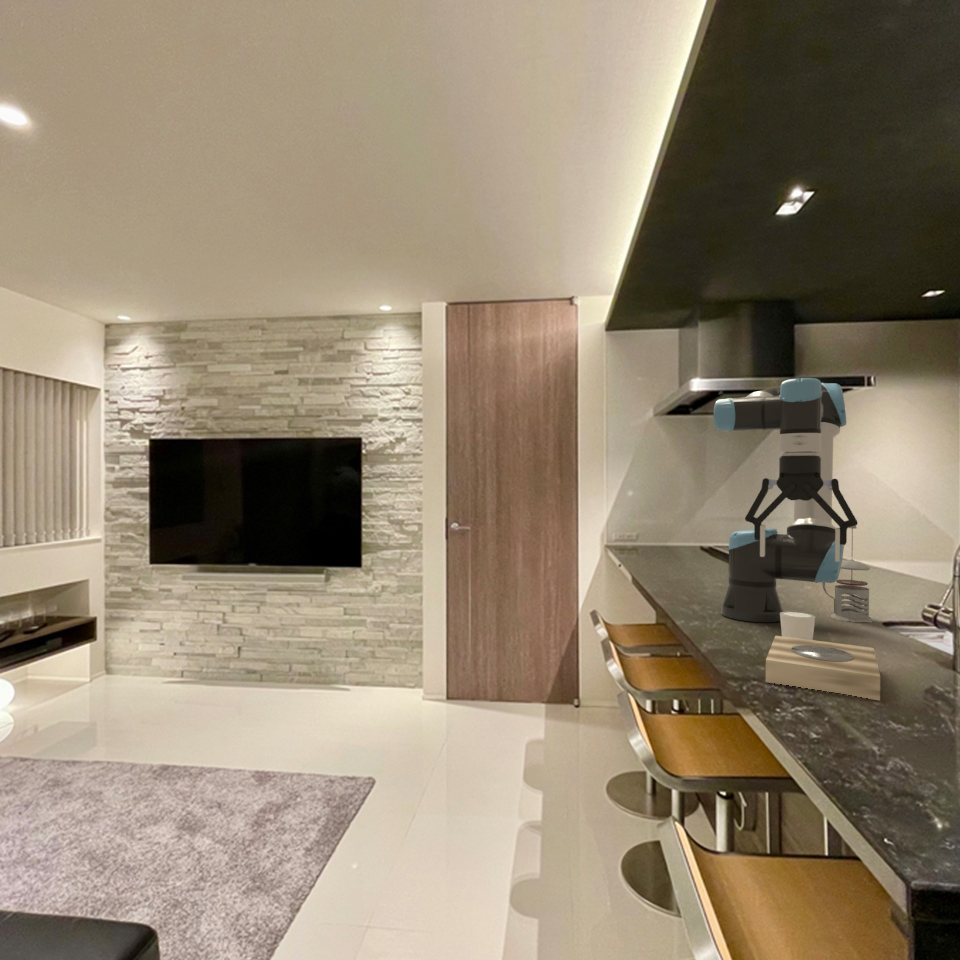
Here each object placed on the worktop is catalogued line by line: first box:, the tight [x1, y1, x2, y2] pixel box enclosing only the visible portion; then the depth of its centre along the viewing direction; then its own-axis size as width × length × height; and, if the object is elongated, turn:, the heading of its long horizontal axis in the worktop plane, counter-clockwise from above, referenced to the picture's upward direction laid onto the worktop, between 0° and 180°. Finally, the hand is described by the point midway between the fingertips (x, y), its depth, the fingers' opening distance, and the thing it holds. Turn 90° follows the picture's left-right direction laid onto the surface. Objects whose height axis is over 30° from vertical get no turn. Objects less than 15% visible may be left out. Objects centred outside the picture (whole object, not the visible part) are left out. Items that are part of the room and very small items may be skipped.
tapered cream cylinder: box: [780, 611, 816, 640], centre depth 132 cm, size 7×7×7 cm
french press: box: [822, 525, 874, 623], centre depth 161 cm, size 10×12×25 cm
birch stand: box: [765, 635, 881, 701], centre depth 112 cm, size 20×17×4 cm
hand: (798, 558), depth 125 cm, fingers open, 13 cm apart
